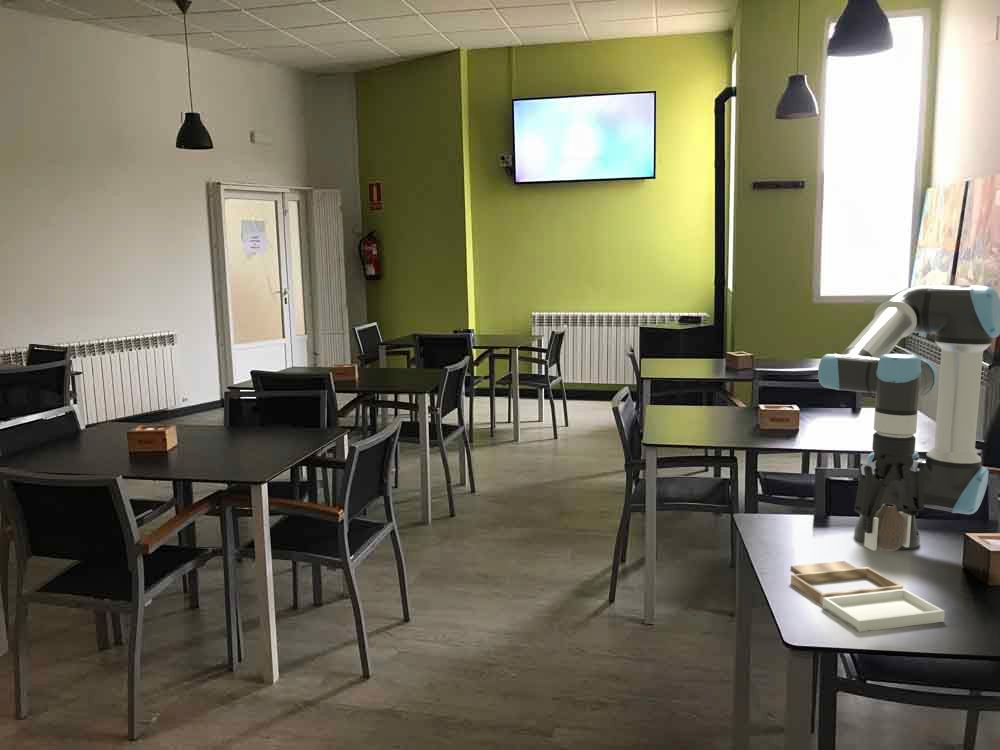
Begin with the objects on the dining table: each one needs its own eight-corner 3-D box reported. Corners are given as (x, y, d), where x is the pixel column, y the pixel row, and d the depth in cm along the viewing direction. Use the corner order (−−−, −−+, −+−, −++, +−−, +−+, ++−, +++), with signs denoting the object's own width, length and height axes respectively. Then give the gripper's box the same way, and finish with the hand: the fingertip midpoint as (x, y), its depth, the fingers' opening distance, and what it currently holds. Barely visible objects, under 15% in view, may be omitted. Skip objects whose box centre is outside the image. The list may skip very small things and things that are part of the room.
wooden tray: (867, 575, 189) (867, 566, 188) (902, 595, 178) (902, 586, 177) (790, 583, 184) (791, 574, 184) (822, 604, 173) (822, 595, 173)
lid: (843, 564, 195) (844, 560, 195) (860, 573, 190) (860, 570, 189) (790, 569, 192) (790, 566, 192) (806, 579, 186) (806, 575, 186)
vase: (884, 555, 162) (887, 511, 161) (859, 543, 168) (862, 501, 167) (913, 551, 164) (916, 508, 162) (888, 540, 170) (891, 498, 169)
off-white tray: (903, 598, 176) (904, 588, 175) (944, 621, 165) (944, 611, 164) (822, 607, 171) (823, 597, 171) (858, 632, 160) (859, 621, 160)
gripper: (923, 427, 169) (915, 536, 172) (838, 432, 164) (831, 544, 167) (951, 434, 161) (942, 548, 165) (863, 440, 157) (855, 557, 160)
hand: (886, 546), depth 166 cm, fingers closed on vase, 7 cm apart
